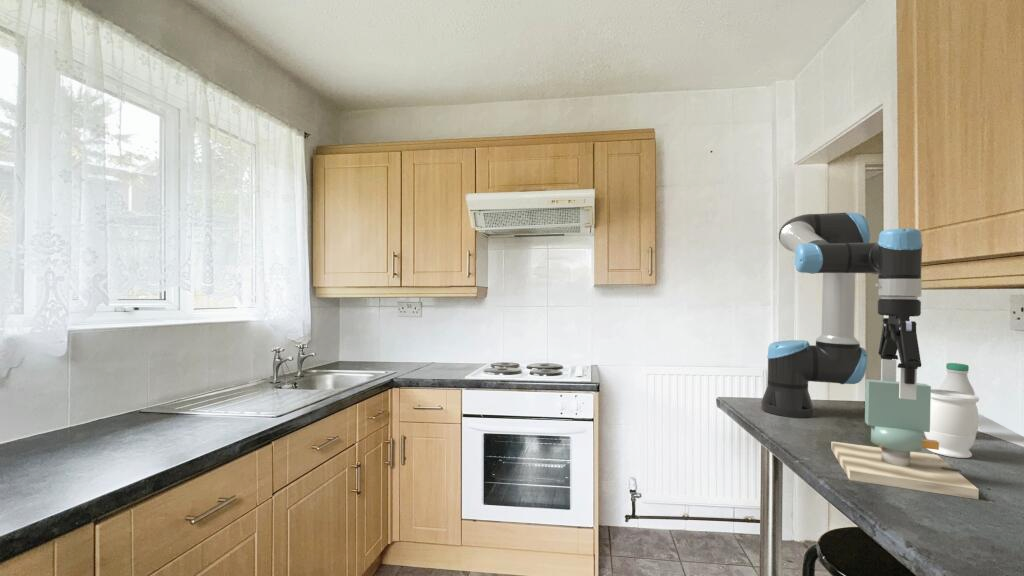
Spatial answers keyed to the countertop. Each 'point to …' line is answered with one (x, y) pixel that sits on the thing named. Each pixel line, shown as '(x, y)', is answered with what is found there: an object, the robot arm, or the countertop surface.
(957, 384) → the milk bottle
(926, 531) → the countertop surface
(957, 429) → the jar
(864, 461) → the base
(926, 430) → the mint bar with ball
